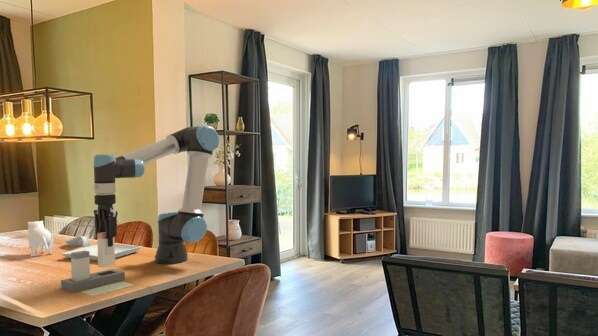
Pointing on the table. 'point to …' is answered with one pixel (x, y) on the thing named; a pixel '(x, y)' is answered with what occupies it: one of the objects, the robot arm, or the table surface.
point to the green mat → (107, 288)
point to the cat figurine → (39, 237)
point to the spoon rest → (79, 241)
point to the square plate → (93, 251)
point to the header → (93, 280)
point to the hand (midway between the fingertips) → (106, 254)
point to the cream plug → (102, 258)
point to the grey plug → (80, 266)
